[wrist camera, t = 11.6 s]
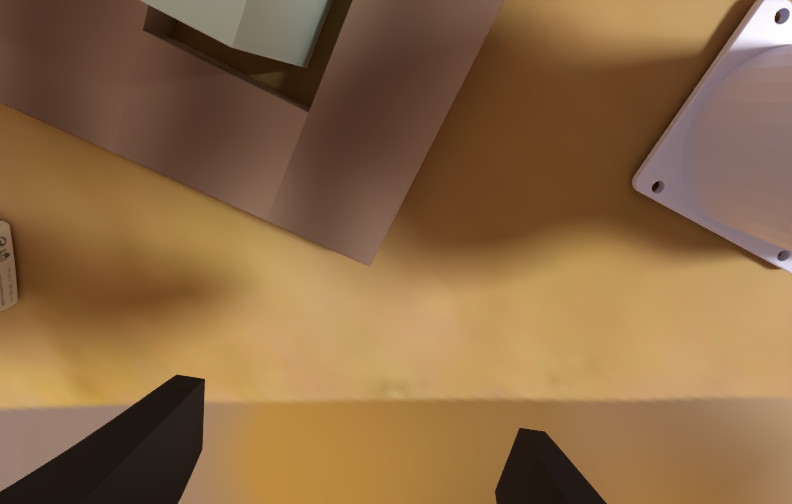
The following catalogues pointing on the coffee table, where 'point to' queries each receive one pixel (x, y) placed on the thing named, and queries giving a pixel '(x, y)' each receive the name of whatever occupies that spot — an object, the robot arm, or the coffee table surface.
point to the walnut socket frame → (253, 106)
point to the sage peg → (255, 24)
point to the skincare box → (7, 269)
